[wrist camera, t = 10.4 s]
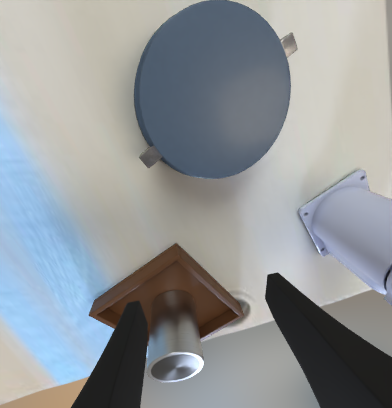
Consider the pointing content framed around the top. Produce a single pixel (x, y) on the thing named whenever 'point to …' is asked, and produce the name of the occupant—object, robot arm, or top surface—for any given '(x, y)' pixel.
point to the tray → (167, 281)
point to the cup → (174, 338)
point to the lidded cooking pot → (212, 89)
